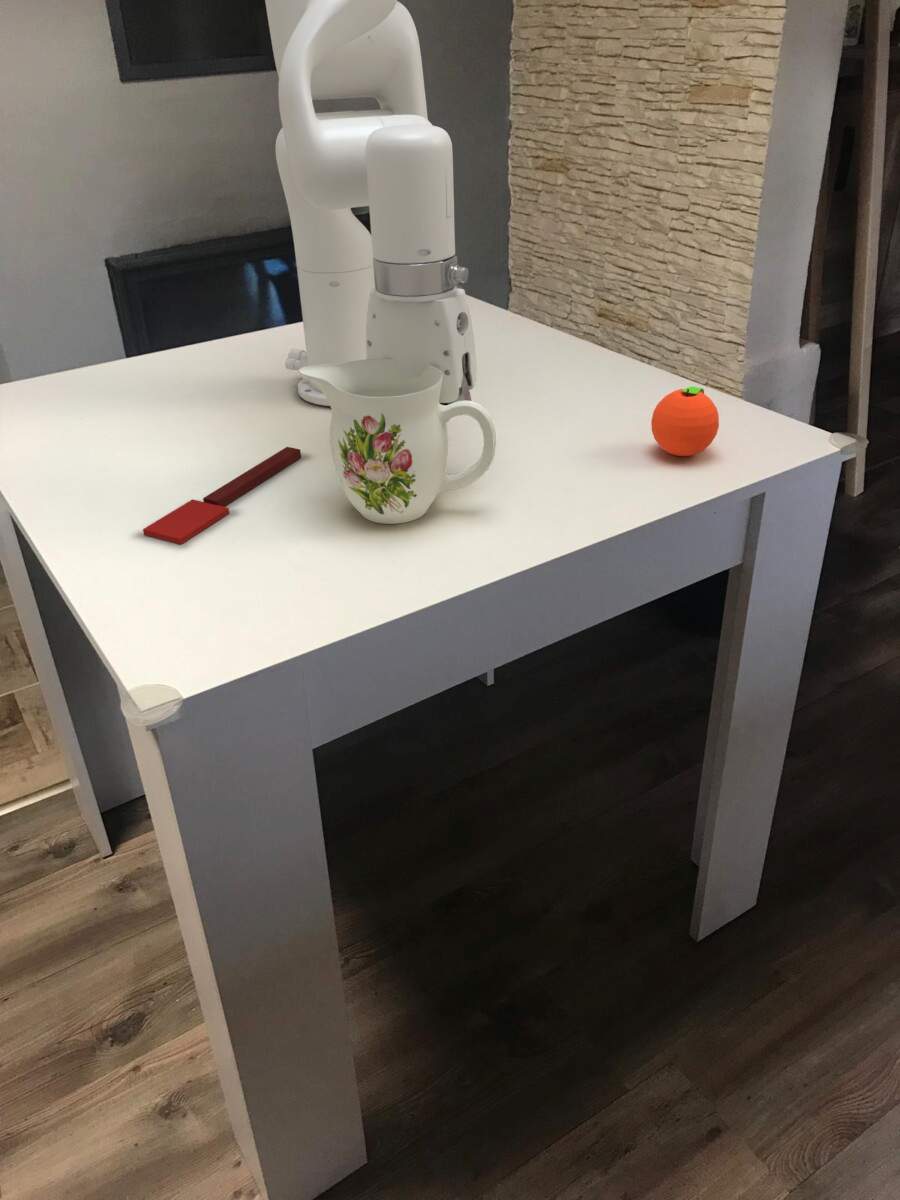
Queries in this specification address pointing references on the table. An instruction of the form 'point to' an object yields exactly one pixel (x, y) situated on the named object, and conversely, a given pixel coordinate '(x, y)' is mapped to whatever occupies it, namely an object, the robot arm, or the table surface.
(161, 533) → the spatula
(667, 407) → the clementine
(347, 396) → the pitcher
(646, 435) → the table surface
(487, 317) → the table surface
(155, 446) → the table surface
